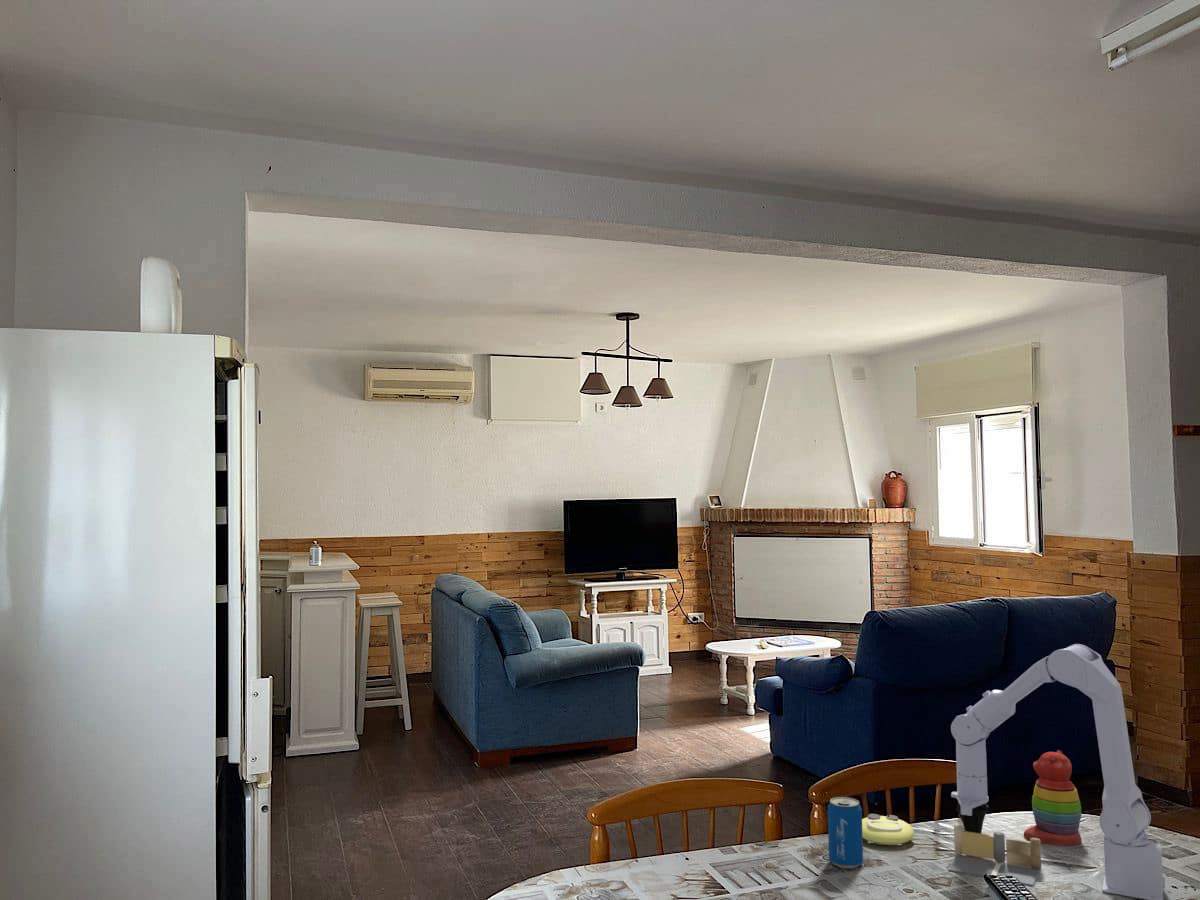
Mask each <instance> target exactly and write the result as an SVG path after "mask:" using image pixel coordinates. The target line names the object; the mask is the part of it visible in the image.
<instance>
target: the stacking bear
mask: <svg viewBox="0 0 1200 900" xmlns="http://www.w3.org/2000/svg"><path fill="white" fill-rule="evenodd" d="M1032 766H1033V769H1034V772H1035V773H1036V775H1037V776H1038V779H1036V781H1035V785H1034V788H1033V795H1032V797H1031V804H1032V806H1031V808H1032V814H1033V818H1034V823H1035V825H1033V826H1030V827H1029V828H1026V829H1025V830H1024V832H1023V837H1024V838H1025V839H1027V841H1028V840H1029V841H1030V838H1038V839H1040V844H1044V845H1045V844H1046V845H1051V846H1053V845H1054V846H1076V845H1078V844H1080V843H1081V842H1082V837H1081V833H1080V831H1079V828H1080V821H1081V819H1082V806H1081V805H1082V804H1081V801H1080V797H1079V793H1078V790H1077V788H1076V787H1075V785H1074V784H1073V782H1072V781H1071V780H1070V778H1071V775H1072V772H1073V771H1072V770H1073V766H1072V763H1071V760H1070V759H1069V758H1068V757H1067V756H1066V755H1064V753H1063V752H1062V751H1061V750H1058V749H1057V751H1048V752H1044V753H1043V754H1041V755H1040V757H1039V758H1038V760H1036V761H1034V762H1033V765H1032Z"/></svg>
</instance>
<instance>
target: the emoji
mask: <svg viewBox="0 0 1200 900" xmlns="http://www.w3.org/2000/svg"><path fill="white" fill-rule="evenodd" d="M915 833H916V832H915V830H914V828H913V826H911V825H910V824H909V823H907V822H906V821H904V820H902V819H899V817H898V816H897V815H893V814H889V817H888V815H886V816H884V815H880V814H877V813H869V814H868V815H867V817H864V818H862V839H864V840H865V841H867V842H868V841H870V842H873V843H877V844H876V845H884V846H885V845H887V846H899V845H898V844H902V843H903V844H905V843H907V842H909V841H911V840H913V838H914V835H915Z"/></svg>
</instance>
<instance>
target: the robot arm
mask: <svg viewBox="0 0 1200 900" xmlns="http://www.w3.org/2000/svg"><path fill="white" fill-rule="evenodd" d="M1056 681H1057V682H1059V683H1062V684H1065V685H1066V686H1070V687H1072V688H1076V689H1078V690H1079V691H1080V692H1082V693H1083V694H1084V695H1085V696H1087V697H1088V698H1090V699H1091V701H1092V708H1093V716H1094V722H1095V730H1096V736H1097V737H1096V738H1097V743H1098V750H1099V758H1100V764H1101V765H1100V766H1101V772H1102V779H1103V785H1104V786H1103V791H1102V797H1101V803H1102V810H1101V812H1100V815H1099V820H1098V821H1099V826H1100V829H1101V832H1102V833H1103V846H1104V847H1103V849H1104V875H1103V881H1102V885H1101V886H1102V887H1101V891H1102V892H1103V893H1108V894H1113V895H1119V896H1125V897H1130V898H1137V899H1143V900H1164V889H1165V888H1166V880H1165V879H1166V878H1165V877H1164V876H1163V856H1162V855H1163V853H1162V845H1161V844H1159V843H1155V842H1151V841H1150V838H1149V836H1148V834H1147V833H1146V829H1147V828H1149V826H1150V824H1151V820H1152V817H1151V815H1152V814H1151V812H1150V809H1149V808H1148V806H1147V805H1146V803H1145V802H1144V798H1143V794H1142V790H1141V789H1140V788H1139V787H1138V786H1137V785H1136V780H1135V771H1134V766H1133V760H1132V758H1133V756H1132V751H1131V745H1130V738H1129V732H1128V724H1127V718H1126V711H1125V710H1126V709H1125V705H1124V704H1125V703H1124V697H1123V690H1122V686H1121V684H1120V683H1119V681H1118V679H1116V677H1115V676H1114V674H1113V673H1112V672H1111V671H1110V669H1109V668H1108V667H1107V665H1106V664H1105V663H1104V661H1103V658H1102V655H1101V654H1099V653H1098V652H1097V651H1094V650H1093V649H1092V648H1090V647H1088V646H1087V645H1084V644H1080V643H1074V644H1071V645H1069V646H1067V647H1066V648H1060V649H1057V650H1054V651H1053V652H1052V653H1050V654H1049V655H1048V656H1045V657H1042V659H1040V660H1038V661H1037V662H1035V663H1034V664H1032V665H1031V666H1030V667H1029V668H1028V669H1026V671H1024V672H1023V673H1022V674H1021V675H1020V676H1019V677H1018V678H1017V679H1015V680H1014V681H1013V682H1011V684H1010V685H1009V686H1007V687H1006V688H1004V690H1001V689H993V690H991V691H990V690H986V691H985V692H983V693H982V694H981V695H982V698H981V699H980V700H978V702H976V703H975V704H974V705H973V706H972V705H969V706H968V707H966V708H965V710H966V713H964V714H960V715H956V716H955V718H954V719H953V721H952V722H951V725H950V732H951V735H952V737H953V738H954V740H955V757H956V758H955V759H956V760H955V761H956V788H957V789H956V791H952V792H951V794H950V797H951V798H955V799H957V801H958V804H957V805H956V812H957V814H958V815H959V817H960V819H961V822H962V825H963V827H964V831H967V832H973V833H980V834H982V832H983V825H984V821H985V817H986V815H987V812H988V810H989V808H990V806H989V804H987V803H988V802H989V801H990V800H989V796H988V775H987V773H988V771H987V769H988V768H987V767H988V766H987V747H986V746H987V745H986V740H987V739H988V737H989V735H990V733H991V732H993V731H994V730H995V729H997V728H998V727H999V726H1000V725H1001V724H1003V723H1004V722H1006V720H1008V719H1009V718H1010V717H1012V716H1014V715H1015V713H1016V706H1017V705H1016V704H1017V703H1018V702H1019V701H1021V700H1023V699H1024V698H1025V697H1027V696H1028V695H1029V694H1030V693H1032V692H1033V691H1034V690H1035V691H1036V689H1037V688H1039V687H1040V686H1041V685H1043V684H1045V683H1054V682H1056Z"/></svg>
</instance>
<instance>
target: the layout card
mask: <svg viewBox="0 0 1200 900" xmlns="http://www.w3.org/2000/svg"><path fill="white" fill-rule="evenodd" d="M947 871H948V872H953V873H957V874H963V875H968V876H974V877H980V878H984V875H985V874H994V875H1011V876H1013V877H1015V878H1017V879H1018V880H1019V881H1020V882H1021V883H1022V884H1021V885H1024V886H1029V887H1034V886H1035V883H1036V881H1037V878H1038V874H1039V871H1040V870H1035V869H1032V868H1029V867H1024V866H1018V865H1012V864H1007V858H1006V855H1005V861H1004V862H1000V861H996V860H994V859H988V858H983V857H977V856H971V855H965V854H955V857H954V858H953V860H952V862H951V864H950V865H949V866H948V868H947Z"/></svg>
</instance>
